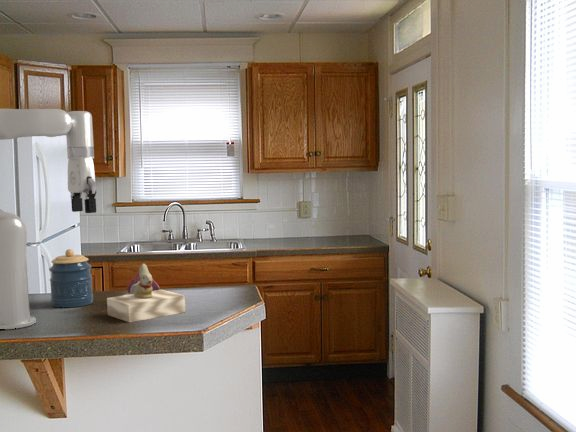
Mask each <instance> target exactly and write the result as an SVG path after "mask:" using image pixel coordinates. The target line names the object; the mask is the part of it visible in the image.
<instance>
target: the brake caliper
mask: <svg viewBox="0 0 576 432" xmlns="http://www.w3.org/2000/svg"><path fill="white" fill-rule="evenodd" d="M152 281H153V282H152V285H151V286H152V288H153V290H152V291H155V290H161V289H160V286H159V285H158V283H157V282H156V281H155V280H154V279H153V277H152ZM139 282H140V277H139V271H137V273H136V274H135V275H134V277H133V278H132V279H131V280H130V281H129V283H128V284H127V286H126V289H127V293H126V294H124V295H130V294H134V291H135V287H136V285H137V284H138V283H139Z"/></svg>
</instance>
